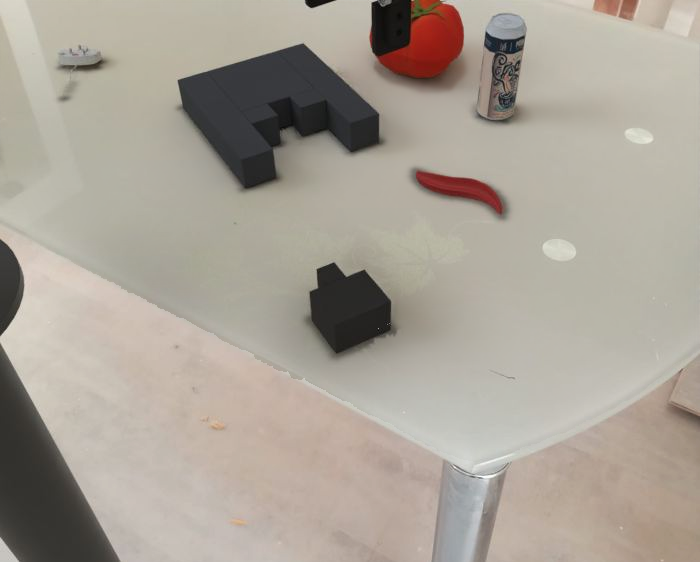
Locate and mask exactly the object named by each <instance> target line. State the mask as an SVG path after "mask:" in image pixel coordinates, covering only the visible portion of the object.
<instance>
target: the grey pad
mask: <svg viewBox="0 0 700 562" xmlns="http://www.w3.org/2000/svg"><path fill="white" fill-rule="evenodd" d="M177 85H178V90H179V94H180V95H179V96H180V99H181V105H182V109H184V111H185V112H186V113H187V115H188V117H190V119H191V120H192V121H193V123H194V124H195V126H197V128H198V129H199V130H200V132H201V133H202V134H203V135H204V136H205V138H206V140H208V142H209V143H210V144H211V146H212V147H213V148H214V149H215V151H216V153H217V154H218V155H219V156H220V157H221V159H222V160H223V162H225V164H226V165H227V167H228V168H229V170H231V172H232V173H233V174H234V176H235V177H236V178H237V179H238V181H239V182H240V184H242V186H243V187H244V188H245V189H249V188H250V187H254V186H258V185H260V184H262V183H265V182H269V181H272V180H274V179H277V174H276V173H277V172H276V171H277V170H276V163H275V154H274V148H273V147H274V146H278V145H281V143H282V140H281V132H280V129H283V128H286V127H289V126H293V127H294V128H295V130H296V131H297V132H298V133H299V134H300V135H301V136H302V137H305V136H307V135H311V134H314V133H317V132H320V131H323V130H326V129H327V130H329V131H330V132H331V133H332V134H333V135H334V136H335V138H337V139H338V140H339V141H340V142H341V143H342V144H343V146H344V147H346V149H347V150H348V151H349V152H350V153H351V152H355V151H359V150H360V149H363V148H366V147H370V146H373V145H375V144H377V143H380V113H379V111H377V110H376V109H375V108H374V107H373V106H372V105H371V104H370V103H368V101H366V100H365V99H364V98H363V97H362V96H361V95H360V94H359V93H358V92H357V91H356V90H355V89H354V88H352V87H351V86H350V85H349V84H348V83H347V82H346V81H345V80H344V79H343V78H342V77H341V76H339V74H337V73H336V72H335V71H334V70H333V69H332V68H331V67H330V66H328V65H327V64H326V62H325V61H323V60H322V59H321V58H320V57H319V56H318V55H317V54H316V53H314V52H313V50H312V49H310V48H309V47H308V46H307V45H306V44H305V43H304V42H301V43H299V44H295V45H292V46H288V47H284V48H281V49H278V50H275V51H272V52H268V53H265V54H262V55H258V56H255V57H251V58H248V59H244V60H240V61H237V62H233V63H230V64H227V65H223V66H220V67H218V68H213V69H210V70H207V71H203V72H200V73H196V74H193V75H189V76H186V77H182V78H179V79H177Z"/></svg>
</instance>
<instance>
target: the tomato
mask: <svg viewBox="0 0 700 562" xmlns="http://www.w3.org/2000/svg"><path fill="white" fill-rule="evenodd" d="M445 2H446V0H412V2H411V41H410V44H409V45H408V46H407V47H404V48H402V49H399V50H396V51H393V52H391V53H388V54H385V55H383V56H379V57H378V56H376V55H375V54H374V56H375V58H376V59H377V60H378V61H379V63H380V64H381V65H382V66H383V67H384V68H386V69H388V70H389V71H391V72H393V73H394V74H399V75H402V76H403V75H404V76H408V77H413V78H417V79H424V78H432V77H435V76H437V75H440V74H442V73H444V72H446V71H447V69H448V67H450V65H451V63H452V62H454V61H455V60H457V59H458V58H459V56H460V55H461V53H462V51H463V48H464V43H465V30H464V25H463V20H462V17H461V15H460V11H459V10H458V9H457V8H456V7H455V6H454V5H453V4H449V3H445ZM368 38H369V45H370V48H371V49H372V24H371V26H370V30H369V37H368Z"/></svg>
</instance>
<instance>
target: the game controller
mask: <svg viewBox="0 0 700 562" xmlns="http://www.w3.org/2000/svg"><path fill="white" fill-rule="evenodd" d="M57 56H58V60H59V64H60V65H65V66H74V67H72V68H71V70H70V72H69V84H68V86H65V87H64V90H63V93H62V98H65V92H66V90H67V88H69V87H70V86H71V82H72V71H74V70H73V69H76V68H77V66H89V65H94V64H98V63H99V62H100V61H101V60H103V59H102V58H103V57H102V53H101V50H100V49H97V48H95V49H92V50H89V47H88V46H87V45H81V44H78V45H77V48H76V49H74V50H73V49H72V48H71V47H69V48H68V49H66V48H65V49H64V48H63V49H60V50H59V51H58V53H57Z"/></svg>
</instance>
